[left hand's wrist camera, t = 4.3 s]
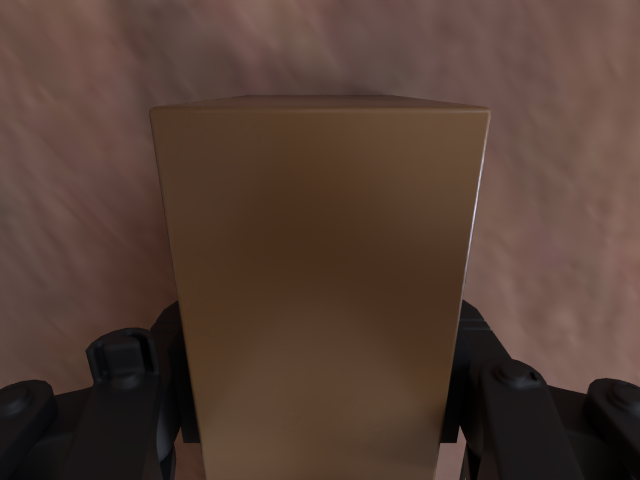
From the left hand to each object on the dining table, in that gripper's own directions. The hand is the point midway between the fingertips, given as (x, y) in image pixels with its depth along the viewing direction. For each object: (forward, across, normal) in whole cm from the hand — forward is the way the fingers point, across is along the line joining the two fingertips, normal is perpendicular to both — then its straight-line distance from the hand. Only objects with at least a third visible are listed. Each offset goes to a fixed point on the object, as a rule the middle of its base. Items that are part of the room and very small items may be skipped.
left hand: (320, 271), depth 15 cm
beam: (+1, 0, -19) cm, 19 cm away
